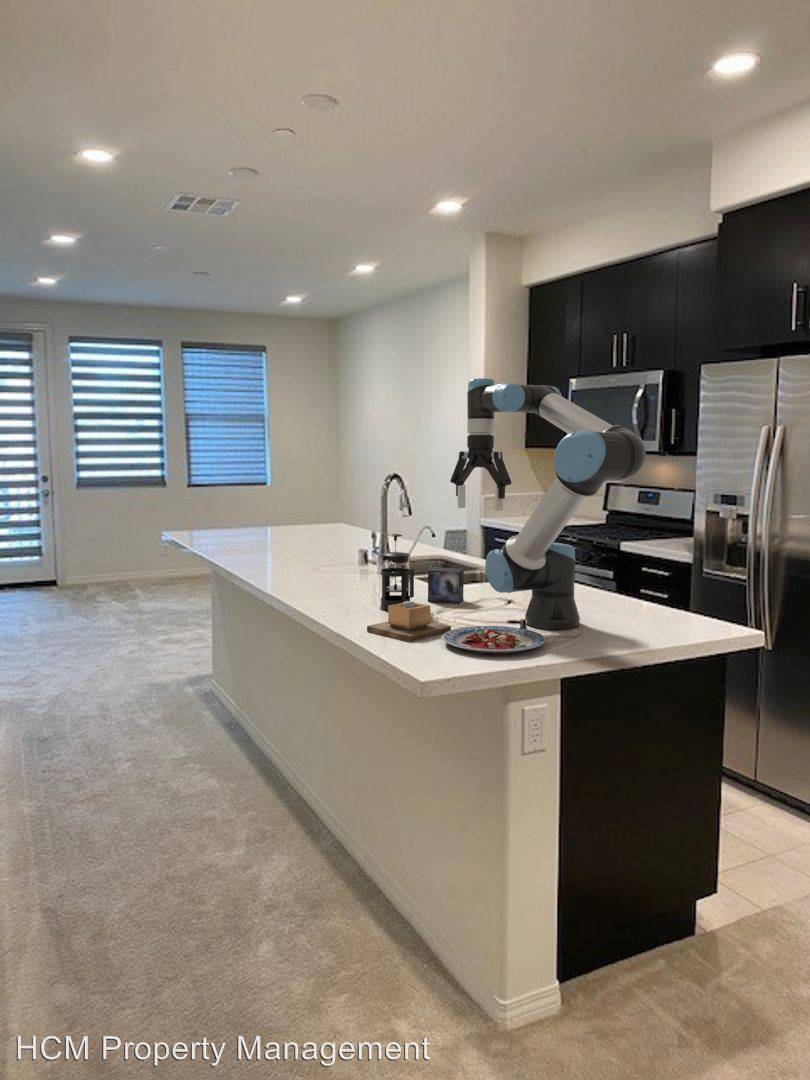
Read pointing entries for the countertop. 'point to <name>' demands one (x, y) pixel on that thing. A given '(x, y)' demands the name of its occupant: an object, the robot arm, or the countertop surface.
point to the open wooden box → (409, 615)
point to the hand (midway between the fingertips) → (479, 509)
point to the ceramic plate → (493, 639)
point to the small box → (445, 585)
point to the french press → (400, 572)
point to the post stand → (407, 633)
